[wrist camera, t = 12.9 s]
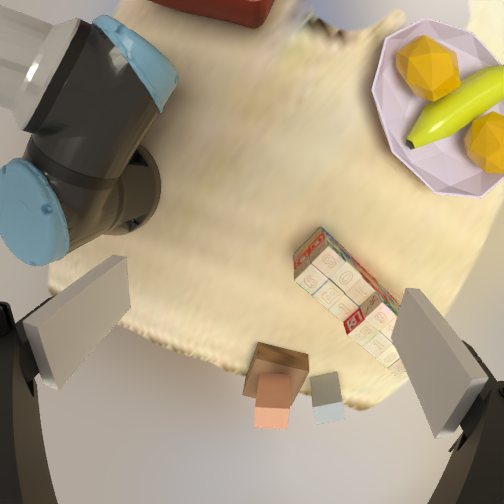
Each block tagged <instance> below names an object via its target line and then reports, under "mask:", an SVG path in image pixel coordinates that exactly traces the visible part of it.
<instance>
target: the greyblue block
mask: <svg viewBox="0 0 504 504" xmlns="http://www.w3.org/2000/svg"><path fill="white" fill-rule="evenodd" d="M311 391H312V405H313V411H314V415H315V419H316V424H317V425H318V424H324V423H329V422H335V421H340V420H344V419H345V417H344V409H343V402H342V396H341V391H340V385H339V380H338V374H337V372H333V373H328V374H323V375H318V376H313V377H311Z"/></svg>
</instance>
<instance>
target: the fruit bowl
mask: <svg viewBox="0 0 504 504" xmlns="http://www.w3.org/2000/svg"><path fill="white" fill-rule="evenodd" d="M371 90H372V93H373V97H374V100H375V104H376V107H377V111H378V115H379V118H380V122H381V124H382V127H383V130H384V132H385V135H386V138H387V140H388V143H389V146H390V149H391V152H392V153H393V154H394V155H395V156H396V157H397V158H399V159H400V160H401V161H402V162H403V163H404V164H405V165H406V166H407V167H408V168H409V169H410V170H411V171H412V172H414V173H415V174H416V175H417V176H418V177H419V178H420V179H421V180H422V181H423V182H424V183H425V184H426V185H427V186H428V187H429V188H430V189H431V190H432V191H433V192H434V193H435V194H441V195H452V196H462V197H471V198H480V199H481V198H482V197H483V196H484V195H485V194H487V193H488V192H489V191H490V190H491V189H493V188H494V187H495V186H496V185H497V184H498V183H499V182H501V181H502V180H503V179H504V65H501V63H500V62H499V61H498V60H497V59H496V58H495V57H494V55H493V54H492V53H491V52H490V51H489V50H488V49H487V48H486V46H485V45H484V44H483V43H482V42H481V41H480V40H479V39H478V38H477V37H476V36H475V35H474V34H473V33H472V32H470V31H467V30H464V29H461V28H458V27H455V26H452V25H449V24H446V23H442V22H439V21H436V20H432V19H429V18H423V19H421V20H419V21H417V22H415V23H413V24H411V25H409V26H407V27H405V28H403V29H401V30H399V31H397V32H395V33H393V34H391V35H389V36H387V37H386V38H385V41H384V45H383V49H382V53H381V57H380V60H379V64H378V68H377V72H376V75H375V79H374V82H373V86H372V89H371Z"/></svg>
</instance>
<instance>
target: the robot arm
mask: <svg viewBox="0 0 504 504" xmlns="http://www.w3.org/2000/svg"><path fill="white" fill-rule="evenodd" d="M177 83H178V73H177V71H176V69H175V67H174V66H173V64H172V63H171V62H170V61H169V60H168V59H167V58H166V57H165V56H164V55H163V54H162V53H161V52H160V51H158V50H157V49H156V48H155V47H154V46H152V45H151V44H150V43H149V42H148V41H146V40H145V39H144V38H142V37H141V36H140V35H138V34H137V33H136V32H134V31H133V30H131V29H128V28H127V27H126V26H124V25H123V24H121V23H120V22H119V21H117V20H116V19H114V18H112V17H110V16H107V15H101V16H99V17H98V18H96V19H94V20H93V21H92V24H89V23H87V22H85V21H83V20H81V19H78V18H76V19H73V20H70V21H67V22H64V23H61V24H58V25H51V24H49V23H46V22H44V21H42V20H39V19H37V18H34V17H32V16H29V15H26V14H23V13H21V12H18V11H15V10H12V9H9V8H6V7H4V6H1V5H0V106H2V107H5V108H8V109H10V110H11V111H12V112H13V115H14V117H15V120H16V122H17V125H18V128H19V129H20V130H23V131H26V132H30V133H32V135H31V137H30V140H29V142H28V144H27V147H26V150H25V152H24V155H23V157H22V158H15V159H12V160H11V161H10V162H9V163H8V164H6V165H4V166H3V167H2V168H1V169H0V235H1V237H2V239H3V241H4V242H5V244H6V245H7V247H8V248H9V250H10V251H11V252H12V253H13V254H14V255H15V256H16V257H17V258H18V259H20V260H21V261H23V262H24V263H26V264H29V265H32V266H43V265H46V264H49V263H51V262H54V261H57V260H60V259H62V258H64V256H66V254H68V253H70V252H72V251H73V250H75V249H77V248H79V247H80V246H82V245H84V244H86V243H88V242H89V241H91V240H93V239H95V238H97V237H98V236H100V235H102V234H104V235H123V234H127V233H130V232H132V231H134V230H136V229H138V228H139V227H141V226H143V225H144V224H145V223H146V222H147V221H148V220H149V219H150V218H151V216H152V215H153V213H154V212H155V210H156V208H157V205H158V202H159V198H160V192H161V181H160V175H159V171H158V168H157V165H156V163H155V161H154V159H153V158H152V156H151V155H150V154H149V153H148V151H147V150H146V149H144V148H143V147H142V146H141V145H139V144H140V142H141V141H142V139H143V138H144V136H145V134H146V133H147V131H148V130H149V128H150V127H151V125H152V123H153V122H154V120H155V119H156V117H157V116H158V114H161V113H162V112H163V106H164V105H165V103H166V102H167V100H168V98H169V97H170V95H171V94H172V92H173V91H174V89H175V88H176V86H177ZM130 308H131V305H130V295H129V284H128V271H127V257H124V256H117V255H112V256H111V257H109V258H108V259H106V260H105V261H104V262H102V263H101V264H99V265H98V266H96V267H95V268H93V269H92V270H91V271H89V272H88V273H86V274H85V275H84V276H82V277H81V278H79V279H78V280H77V281H75V282H74V283H72V284H71V285H70V286H68V287H67V288H66V289H64V290H63V291H61V292H60V293H59V294H57V295H56V296H53V297H51V298H48V299H47V300H46V301H44V302H43V303H41V304H40V306H38V307H36V308H35V309H34V310H32V311H31V312H30V313H28V314H27V315H26V316H25V317H23V318H22V319H21V320H19V321H18V322H17V323H16V324H15V322H14V318H13V314H12V311H11V307H10V305H9V304H8V303H6V302H0V504H58V503H57V499H56V496H55V492H54V489H53V485H52V481H51V477H50V472H49V468H48V463H47V458H46V453H45V447H44V442H43V436H42V429H41V421H40V413H39V404H38V393H37V384H36V381H35V379H34V377H35V376H36V375H37V374H38V373H40V375H41V378H42V380H43V383H44V385H47V386H49V387H51V388H53V389H56V390H58V391H59V390H60V389H61V388H62V387H63V385H64V384H65V383H66V382H67V381H68V379H69V378H70V377H71V376H72V374H73V373H74V372H75V371H76V370H77V369H78V367H79V366H80V365H81V364H82V363H83V362H84V360H85V359H86V358H87V357H88V356H89V354H90V353H91V352H92V351H93V350H94V349H95V347H96V346H97V345H98V344H99V343H100V342H101V341H102V339H103V338H104V337H105V336H106V335H107V334H108V333H109V331H110V330H111V329H112V328H113V327H114V326H115V325H116V324H117V322H118V321H119V320H120V319H121V318H122V317H123V316H124V315H125V313H126V312H127V311H128V310H129V309H130ZM391 340H392V342H393V344H394V346H395V348H396V350H397V352H398V354H399V357H400V359H401V361H402V363H403V365H404V367H405V369H406V372H407V374H408V376H409V378H410V380H411V383H412V385H413V387H414V389H415V392H416V394H417V396H418V399H419V401H420V403H421V406H422V408H423V410H424V413H425V415H426V417H427V420H428V423H429V425H430V427H431V430H432V433H433V435H434V438H435V439H436V438H443V437H448V436H452V435H453V433H454V432H455V430H456V429H457V428H458V426H459V425H460V426H461V428H462V430H463V433H462V434H461V435H460V437H459V438H458V439H457V441H456V442H455V443H454V444H453V446H452V447H451V448H450V450H449V452H451V451H452V450H453V449H454V450H453V453H452V455H451V457H450V460H449V462H448V464H447V466H446V469H445V471H444V473H443V475H442V477H441V479H440V481H439V483H438V485H437V487H436V489H435V491H434V493H433V495H432V497H431V499H430V500H429V502H428V504H504V381H498V382H497V380H496V379H495V378H494V376H493V375H492V374H491V372H490V371H489V369H488V368H487V367H486V365H485V364H484V363H482V360H481V358H480V357H479V356H478V355H477V353H476V352H475V351H474V349H473V348H472V347H471V346H470V345H468V344H467V343H466V342H464V341H463V340H461V339H460V338H459V337H458V335H457V334H456V333H455V331H454V330H453V329H452V328H451V326H450V325H449V324H448V323H447V321H446V320H445V319H444V318H443V316H442V315H441V314H440V313H439V312H438V310H437V309H436V308H435V307H434V305H433V304H432V303H431V302H430V301H429V300H428V298H427V297H426V296H425V295H424V294H423V292H422V291H421V290H420V289H414V288H406V289H405V293H404V296H403V300H402V303H401V306H400V310H399V313H398V316H397V319H396V322H395V326H394V329H393V332H392V335H391Z"/></svg>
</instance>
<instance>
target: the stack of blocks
mask: <svg viewBox="0 0 504 504" xmlns="http://www.w3.org/2000/svg"><path fill="white" fill-rule="evenodd" d="M293 259H294V281H295V282H296V283H297V284H299V285H300V286H301V287H302V288H303V289H305V290H306V291H307V292H308V293H309V294H311V295H312V297H314V298H315V299H316V300H317V301H318V302H319V303H321V304H322V305H323V306H324V307H325V308H327V309H328V310H329V311H330V312H331V313H332V314H333V315H335V316H336V317H337V318H338V319H340V320H341V321H343V322H344V327H345V330H346V333H347V335H348V336H349V337H350V338H351V339H353V340H354V341H355V342H356V343H358V344H359V345H360V346H361V347H363V348H365V349H366V350H367V351H368V352H369V353H371V354H372V355H373V356H374V357H375V358H376V359H377V360H378V361H379V362H380V363H381V364H383V365H384V366H385V367H386V368H387V369H388V370H389V371H390V372H391V373H393V374H394V375H395V376H396V377H397V378H399V377H400V376H401V375H403V374H404V373H405V372H406V369H405V367H404V365H403V363H402V361H401V359H400V357H399V354H398V352H397V350H396V348H395V346H394V344H393V342H392V340H391V335H392V332H393V329H394V326H395V322H396V319H397V316H398V313H399V310H400V305H399V304H398V303H397V302H396V300H395V299H394V298H393V297H392V296H391V295H390V294H389V293H388V292H387V291H386V290H385V289H384V288H383V286H382V285H381V284H380V283H379V282H378V281H377V280H376V279H375V278H373V277H372V276H371V275H370V274H369V273H368V272H367V271H366V270H365V269H364V268H363V267H361V266H360V265H359V264H358V263H357V262H356V261H355V260H354V259H353V258H352V257H351V256H350V254H349V253H348V252H347V251H346V250H345V249H344V248H343V247H342V246H341V245H340V244H339V243H338V242H337V241H336V240H335V239H333V238H332V237H331V236H330V235H329V234H328V233H327V232H326V231H325V230H324V229H323V228H322V227H320V228H319V229H318V230H317V231H316V232H315V233H314V234H313V235H312V236H311V237H310V239H309V240H308V241H307V242H305V243H304V244H303V245H302V246H301V247H300V249H299V250H298V251H297V252H296V253H295V254H294V256H293Z"/></svg>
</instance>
